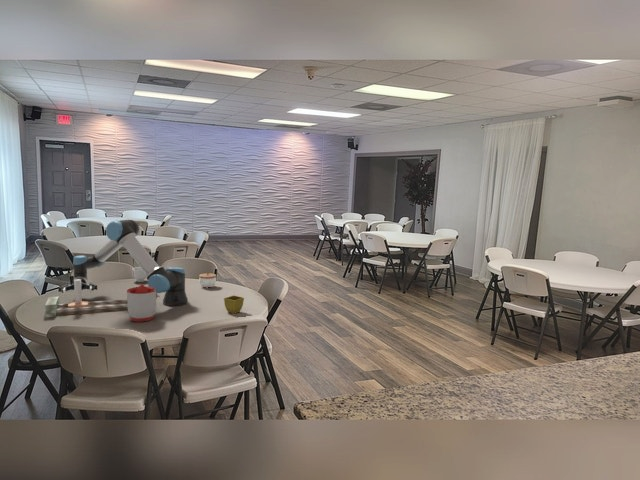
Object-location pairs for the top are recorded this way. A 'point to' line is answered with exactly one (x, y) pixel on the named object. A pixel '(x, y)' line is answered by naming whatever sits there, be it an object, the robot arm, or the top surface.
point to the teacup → (139, 274)
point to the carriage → (78, 296)
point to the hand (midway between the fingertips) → (77, 291)
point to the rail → (100, 306)
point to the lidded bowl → (207, 279)
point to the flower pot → (233, 303)
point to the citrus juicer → (141, 303)
